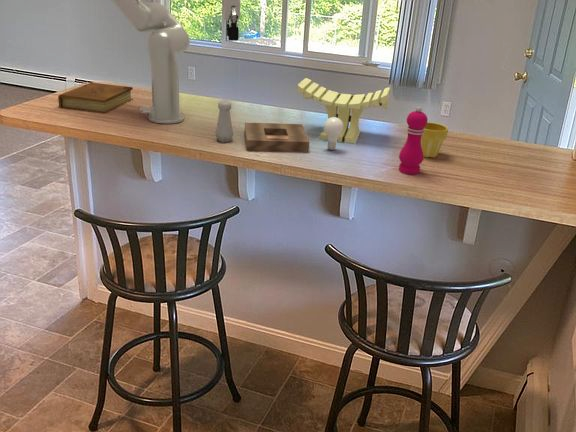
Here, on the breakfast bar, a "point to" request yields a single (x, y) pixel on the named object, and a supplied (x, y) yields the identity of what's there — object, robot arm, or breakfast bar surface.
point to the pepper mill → (413, 143)
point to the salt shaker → (224, 122)
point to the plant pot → (433, 138)
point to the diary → (95, 98)
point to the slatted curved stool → (343, 106)
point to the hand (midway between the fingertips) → (232, 38)
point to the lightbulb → (333, 131)
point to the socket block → (276, 137)
